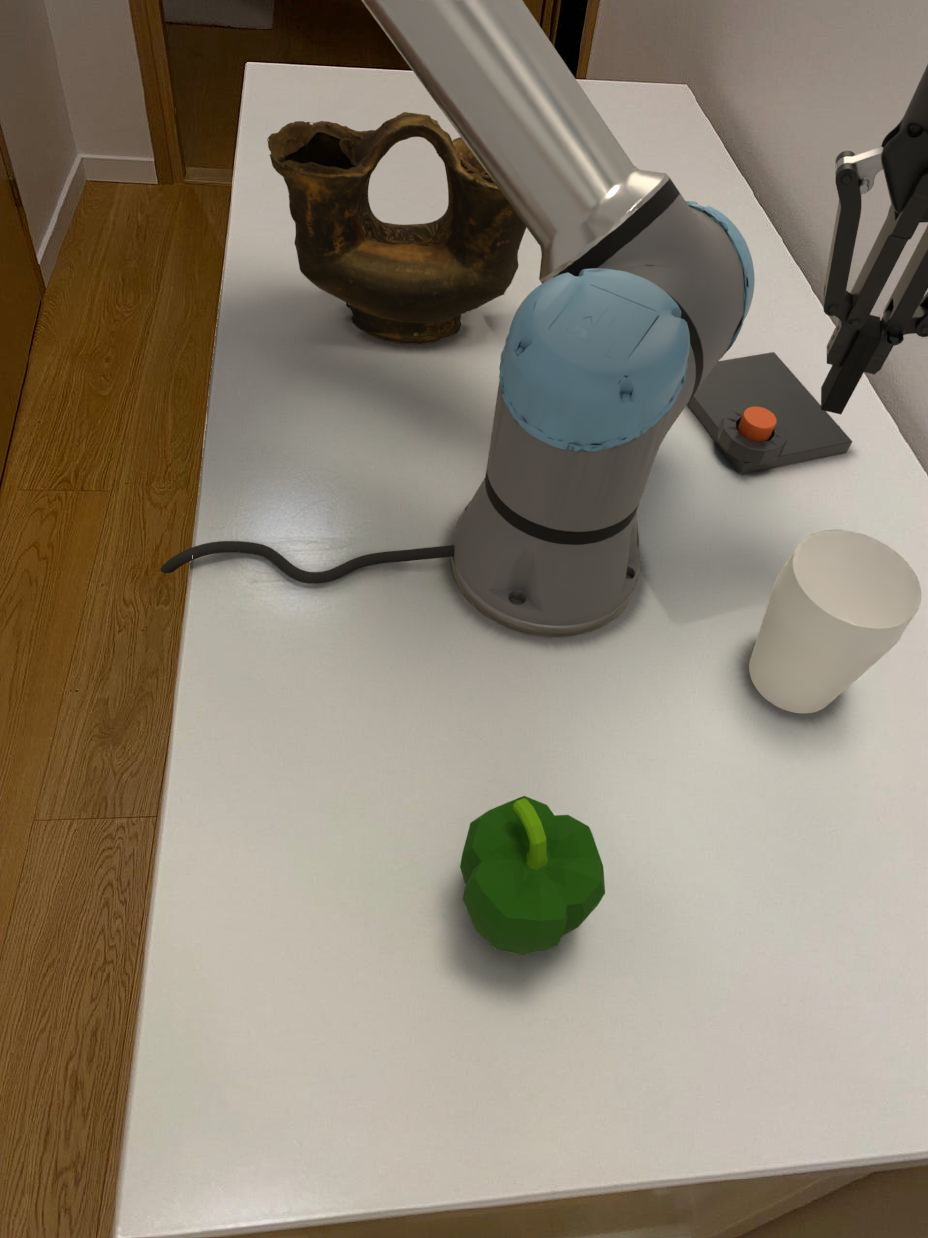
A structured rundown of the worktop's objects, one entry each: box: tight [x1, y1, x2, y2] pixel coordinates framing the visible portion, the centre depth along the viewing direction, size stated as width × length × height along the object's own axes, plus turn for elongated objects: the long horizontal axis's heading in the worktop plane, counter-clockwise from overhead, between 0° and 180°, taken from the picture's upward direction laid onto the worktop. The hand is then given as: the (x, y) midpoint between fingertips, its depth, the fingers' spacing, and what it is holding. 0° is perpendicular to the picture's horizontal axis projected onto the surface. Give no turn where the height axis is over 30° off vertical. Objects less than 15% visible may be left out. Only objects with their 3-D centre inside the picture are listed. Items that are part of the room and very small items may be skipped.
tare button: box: [738, 407, 777, 442], centre depth 86 cm, size 3×3×2 cm
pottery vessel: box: [266, 111, 527, 345], centre depth 89 cm, size 25×11×20 cm, turn 94°
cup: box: [748, 529, 923, 714], centre depth 68 cm, size 9×9×12 cm
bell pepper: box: [459, 795, 606, 956], centre depth 56 cm, size 8×8×10 cm
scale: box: [686, 351, 853, 475], centre depth 91 cm, size 13×14×3 cm
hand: (831, 400), depth 70 cm, fingers closed
